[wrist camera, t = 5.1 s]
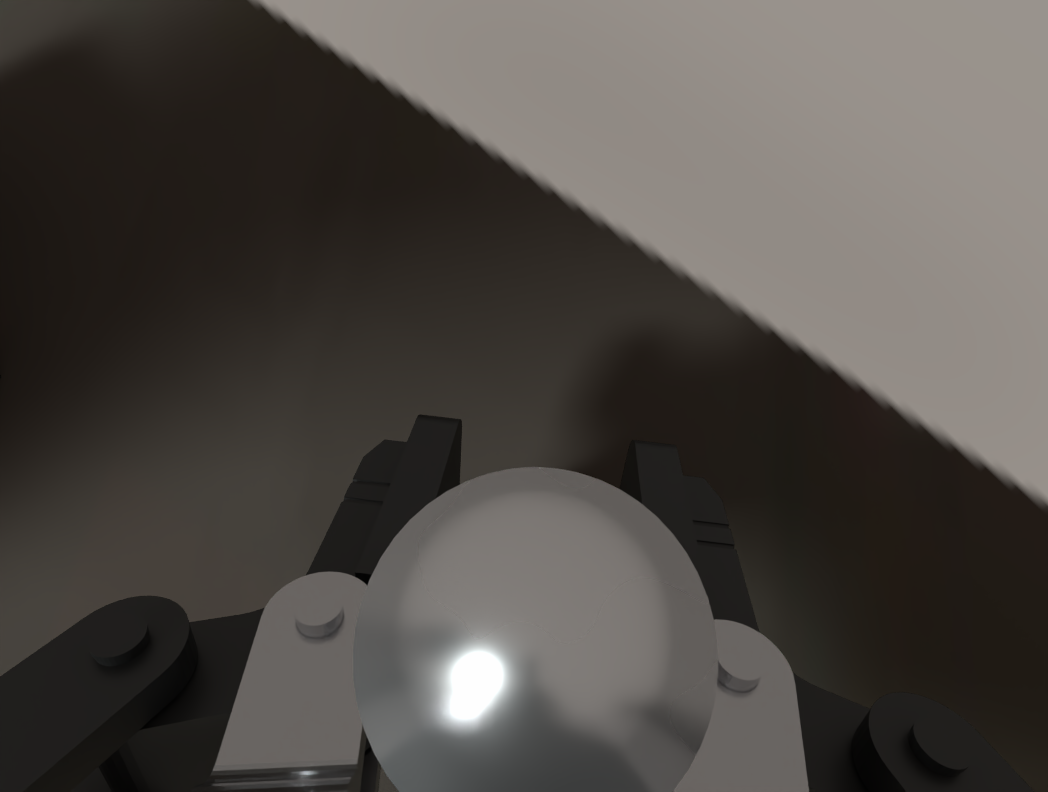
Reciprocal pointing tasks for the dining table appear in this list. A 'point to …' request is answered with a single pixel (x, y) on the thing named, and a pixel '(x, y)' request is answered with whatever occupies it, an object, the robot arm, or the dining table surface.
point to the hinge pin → (535, 642)
